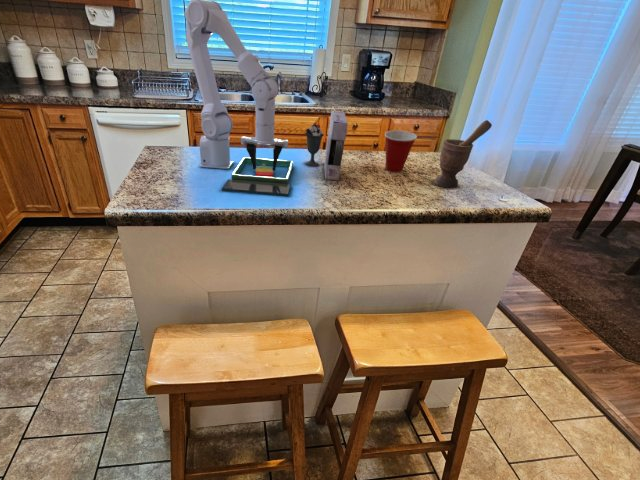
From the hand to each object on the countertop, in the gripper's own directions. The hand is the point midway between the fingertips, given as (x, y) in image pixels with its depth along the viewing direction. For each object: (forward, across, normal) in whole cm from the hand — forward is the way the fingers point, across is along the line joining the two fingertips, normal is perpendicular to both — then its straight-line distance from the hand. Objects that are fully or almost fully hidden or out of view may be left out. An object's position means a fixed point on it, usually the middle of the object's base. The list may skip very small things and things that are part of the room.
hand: (264, 169), depth 123 cm
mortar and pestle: (+2, +61, +4) cm, 61 cm away
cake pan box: (+2, +22, +7) cm, 23 cm away
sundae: (+2, +15, +15) cm, 21 cm away
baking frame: (+1, 0, 0) cm, 1 cm away
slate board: (+1, 0, -15) cm, 15 cm away
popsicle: (+2, 0, 0) cm, 2 cm away
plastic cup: (+2, +44, +16) cm, 47 cm away
